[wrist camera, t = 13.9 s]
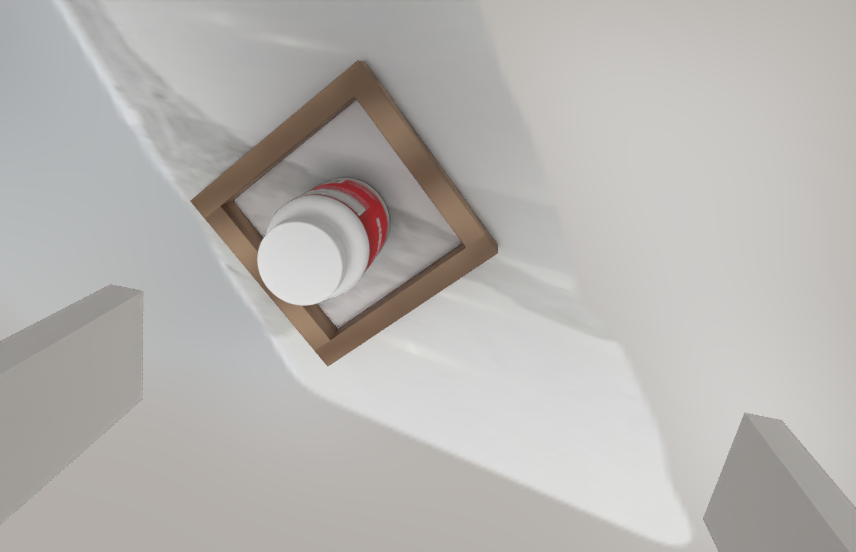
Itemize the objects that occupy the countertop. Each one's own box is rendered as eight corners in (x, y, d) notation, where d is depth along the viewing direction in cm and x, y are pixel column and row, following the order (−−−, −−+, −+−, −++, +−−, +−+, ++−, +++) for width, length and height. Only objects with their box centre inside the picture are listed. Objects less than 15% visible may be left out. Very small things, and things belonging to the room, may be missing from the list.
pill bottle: (365, 277, 43) (322, 339, 32) (291, 233, 42) (224, 281, 32) (407, 205, 41) (377, 247, 30) (331, 158, 40) (273, 184, 30)
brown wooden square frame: (204, 195, 42) (190, 201, 40) (364, 61, 38) (357, 60, 36) (334, 354, 45) (327, 366, 43) (497, 245, 41) (497, 253, 39)
